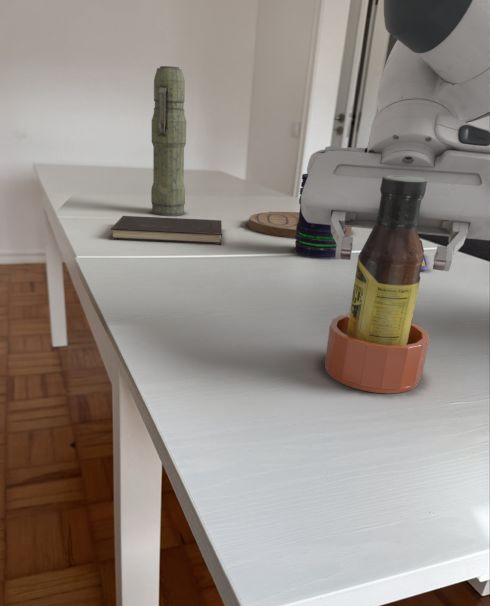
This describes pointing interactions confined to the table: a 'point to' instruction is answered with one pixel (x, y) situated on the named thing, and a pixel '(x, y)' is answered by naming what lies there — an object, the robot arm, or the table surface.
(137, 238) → the hardcover book
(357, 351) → the faceted bowl
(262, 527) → the table surface
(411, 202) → the sauce bottle
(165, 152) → the thermos
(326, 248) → the storage jar
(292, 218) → the trivet
